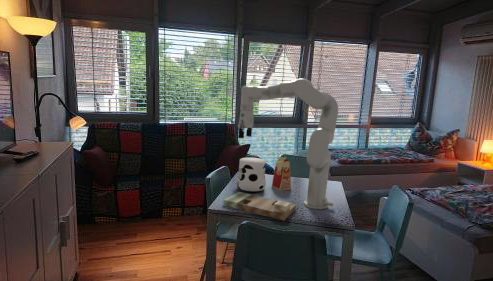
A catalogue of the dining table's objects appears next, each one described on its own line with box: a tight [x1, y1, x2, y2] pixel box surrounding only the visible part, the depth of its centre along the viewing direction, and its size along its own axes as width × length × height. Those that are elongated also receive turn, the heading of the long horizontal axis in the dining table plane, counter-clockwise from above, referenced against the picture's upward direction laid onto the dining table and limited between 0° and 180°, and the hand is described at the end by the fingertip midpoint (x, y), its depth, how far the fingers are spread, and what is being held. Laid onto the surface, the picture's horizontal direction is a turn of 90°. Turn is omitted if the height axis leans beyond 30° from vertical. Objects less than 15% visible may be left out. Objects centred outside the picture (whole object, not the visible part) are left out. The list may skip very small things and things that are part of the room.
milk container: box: [236, 157, 267, 193], centre depth 197 cm, size 17×17×18 cm
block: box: [274, 200, 291, 214], centre depth 160 cm, size 6×6×4 cm
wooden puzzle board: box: [223, 191, 297, 221], centre depth 169 cm, size 33×16×3 cm, turn 63°
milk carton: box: [271, 156, 292, 191], centre depth 205 cm, size 9×9×20 cm
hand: (244, 137), depth 194 cm, fingers open, 9 cm apart
